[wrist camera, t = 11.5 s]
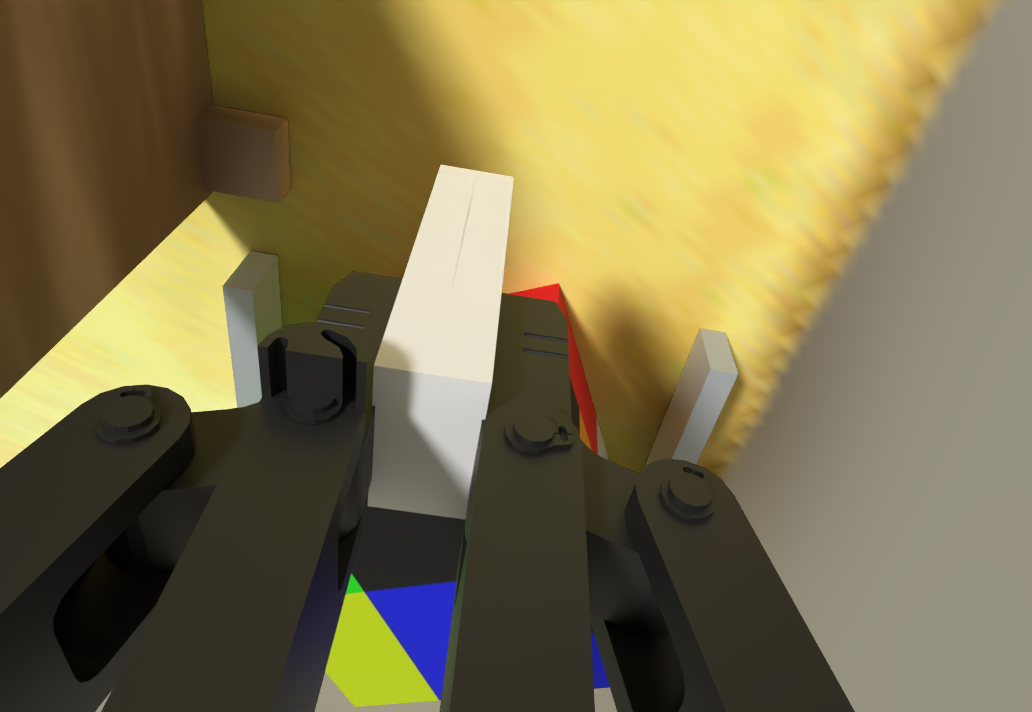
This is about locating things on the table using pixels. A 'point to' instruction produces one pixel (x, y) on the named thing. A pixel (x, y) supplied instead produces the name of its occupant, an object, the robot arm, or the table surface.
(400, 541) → the puzzle toy
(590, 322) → the table surface
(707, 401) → the corral
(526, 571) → the robot arm
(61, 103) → the screen
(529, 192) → the table surface
